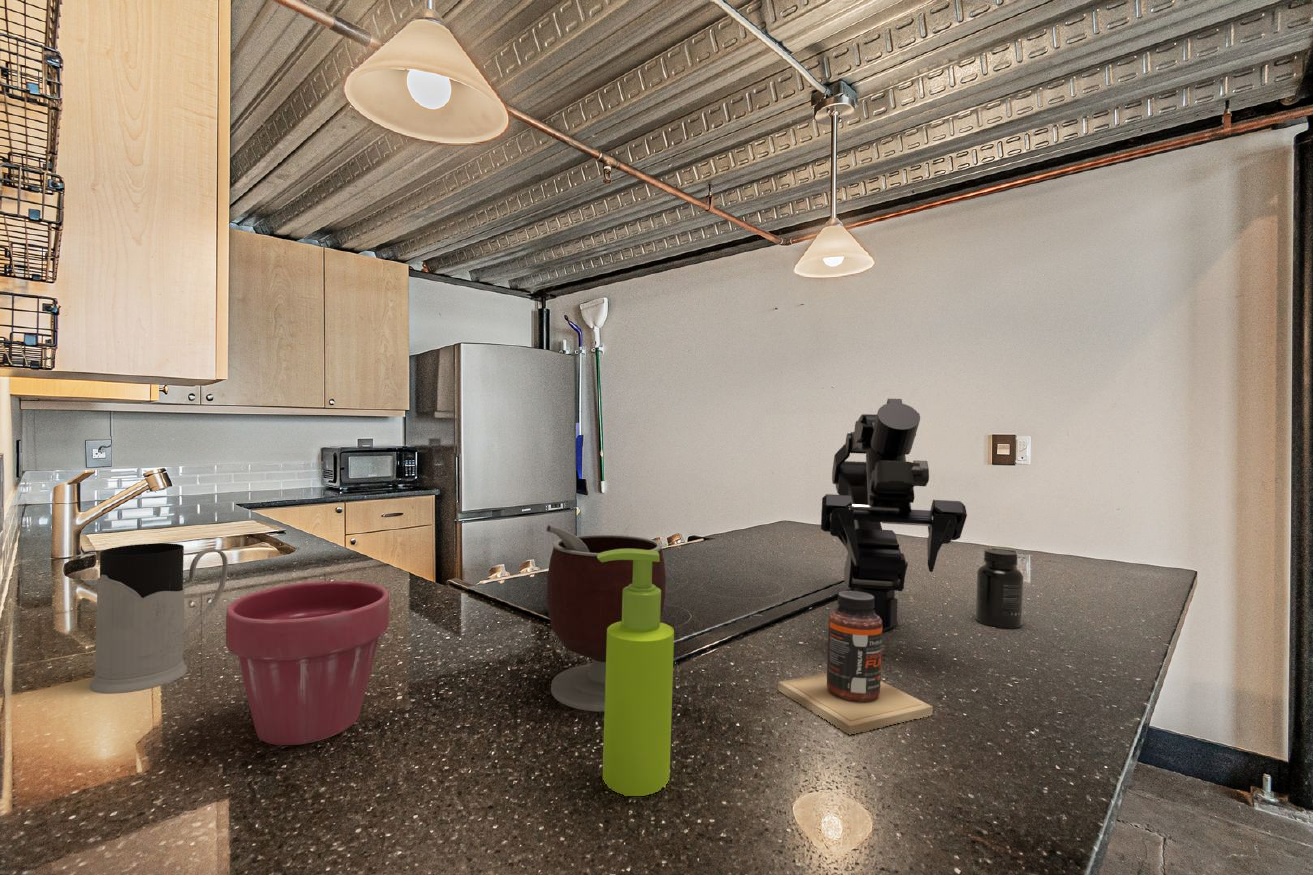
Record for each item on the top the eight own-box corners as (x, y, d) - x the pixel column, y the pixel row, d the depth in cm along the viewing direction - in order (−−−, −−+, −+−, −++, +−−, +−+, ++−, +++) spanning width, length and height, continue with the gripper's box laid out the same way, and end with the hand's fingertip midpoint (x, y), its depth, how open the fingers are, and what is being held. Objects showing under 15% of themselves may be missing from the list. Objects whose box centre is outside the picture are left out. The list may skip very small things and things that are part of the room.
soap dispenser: (591, 760, 57) (597, 543, 57) (665, 759, 58) (672, 545, 58) (589, 798, 51) (597, 556, 51) (673, 796, 52) (680, 558, 52)
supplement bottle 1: (873, 708, 68) (876, 604, 67) (819, 694, 71) (822, 595, 71) (885, 689, 73) (888, 593, 73) (834, 678, 76) (837, 585, 76)
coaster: (777, 690, 74) (778, 681, 74) (854, 675, 80) (854, 667, 79) (849, 735, 63) (850, 725, 63) (932, 715, 69) (932, 705, 69)
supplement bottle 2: (1022, 621, 106) (1024, 551, 106) (1020, 632, 100) (1023, 557, 100) (977, 614, 110) (979, 546, 110) (973, 623, 104) (976, 552, 104)
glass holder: (71, 685, 70) (74, 551, 70) (201, 645, 83) (204, 533, 83) (121, 698, 67) (124, 559, 67) (248, 655, 80) (251, 539, 80)
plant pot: (270, 778, 53) (274, 628, 53) (195, 731, 60) (198, 600, 60) (415, 716, 65) (418, 593, 65) (337, 683, 72) (340, 574, 72)
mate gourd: (610, 657, 83) (615, 508, 83) (686, 690, 73) (692, 521, 73) (508, 688, 72) (513, 517, 72) (582, 732, 62) (587, 534, 62)
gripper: (824, 437, 89) (822, 525, 78) (966, 442, 85) (985, 535, 74) (821, 488, 97) (820, 574, 86) (951, 494, 92) (966, 586, 82)
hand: (894, 567), depth 82 cm, fingers open, 9 cm apart
